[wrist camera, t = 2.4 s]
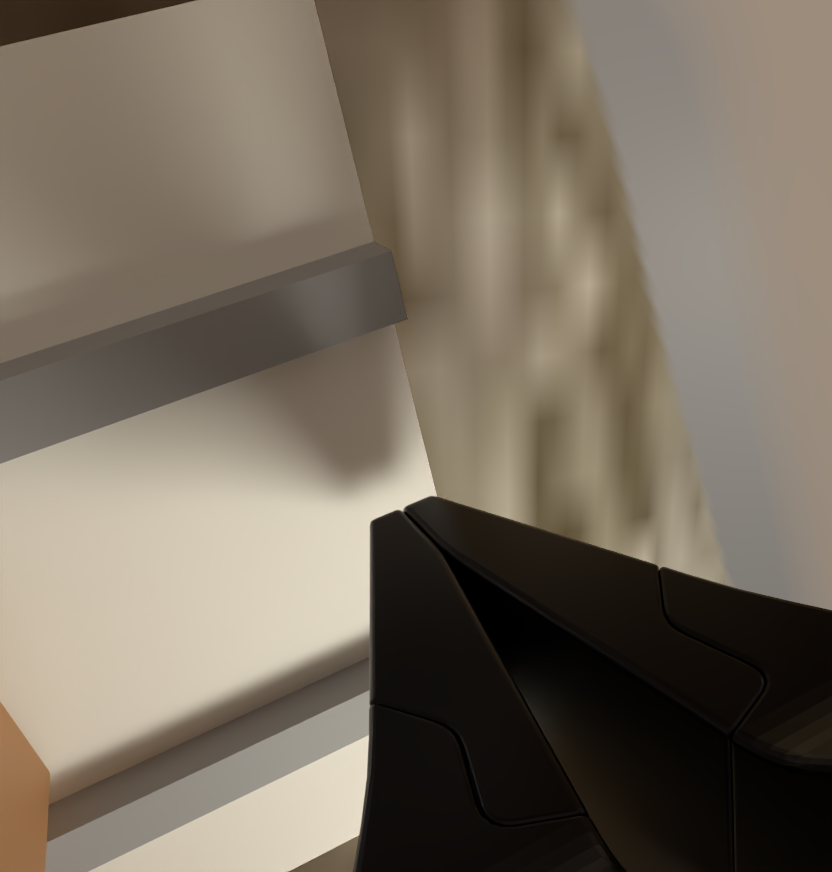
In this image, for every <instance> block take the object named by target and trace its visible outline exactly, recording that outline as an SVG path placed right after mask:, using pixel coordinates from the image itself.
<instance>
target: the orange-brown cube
mask: <svg viewBox="0 0 832 872" xmlns="http://www.w3.org/2000/svg"><path fill="white" fill-rule="evenodd" d="M49 786H50V772H49V770H48V769H47V768H46V766H45V765H44V763H43V762H42V760H41V759H40V757H39V756H38V755H37V753H36V752H35V750H34V749H33V747H32V746H31V745H30V743H29V742H28V740H27V739H26V737H25V736H24V735H23V733H22V732H21V730H20V729H19V727H18V726H17V725H16V723H15V722H14V720H13V719H12V717H11V716H10V715H9V713H8V712H7V710H6V709H5V707H4V706H3V704H2V703H1V702H0V872H45V868H46V848H47V827H48V807H49Z"/></svg>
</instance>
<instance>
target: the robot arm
mask: <svg viewBox="0 0 832 872" xmlns="http://www.w3.org/2000/svg"><path fill="white" fill-rule="evenodd" d="M369 704H370V708H369V742H368V763H367V780H366V788H365V796H364V804H363V812H362V820H361V827H360V833H359V839H358V845H357V851H356V857H355V864H354V870H353V872H832V610H828V609H823V608H819V607H814V606H810V605H805V604H800V603H796V602H791V601H787V600H783V599H779V598H775V597H771V596H766V595H762V594H758V593H754V592H750V591H746V590H741V589H737V588H734V587H730V586H727V585H723V584H720V583H716V582H713V581H709V580H706V579H702V578H699V577H695V576H692V575H689V574H685V573H682V572H679V571H676V570H672V569H669V568H666V567H662V568H660V570H659V568H658V566H657V565H656V564H652V563H649V562H646V561H643V560H639V559H636V558H633V557H630V556H627V555H623V554H620V553H617V552H614V551H610V550H607V549H604V548H601V547H598V546H594V545H591V544H588V543H585V542H581V541H578V540H575V539H572V538H569V537H565V536H562V535H559V534H556V533H552V532H549V531H546V530H543V529H540V528H536V527H533V526H530V525H527V524H523V523H520V522H517V521H514V520H510V519H507V518H504V517H501V516H498V515H494V514H491V513H488V512H485V511H481V510H478V509H475V508H472V507H469V506H465V505H462V504H459V503H456V502H452V501H449V500H446V499H443V498H440V497H436V496H428V497H426V498H424V499H421V500H419V501H417V502H414V503H412V504H409V505H407V506H405V507H404V509H403V511H401V510H395V511H393V512H390V513H388V514H385V515H383V516H381V517H378V518H376V519H374V520H372V521H371V523H370V635H369Z"/></svg>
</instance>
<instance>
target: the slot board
mask: <svg viewBox="0 0 832 872" xmlns="http://www.w3.org/2000/svg"><path fill="white" fill-rule="evenodd" d="M406 319H408V318H407V314H406V310H405V306H404V301H403V297H402V293H401V289H400V285H399V280H398V276H397V272H396V268H395V264H394V259H393V255H392V251H391V250H389V249H387V248H385V247H383V246H381V245H380V244H378V243H376V242H374V240H373V236H372V232H371V228H370V224H369V220H368V216H367V212H366V208H365V204H364V200H363V196H362V192H361V188H360V183H359V179H358V175H357V171H356V167H355V163H354V159H353V155H352V151H351V147H350V143H349V139H348V135H347V131H346V127H345V123H344V119H343V115H342V111H341V107H340V103H339V99H338V94H337V90H336V86H335V82H334V78H333V74H332V70H331V66H330V62H329V58H328V54H327V50H326V46H325V42H324V38H323V34H322V30H321V26H320V22H319V18H318V14H317V10H316V5H315V1H314V0H196V1H192V2H188V3H183V4H179V5H175V6H171V7H166V8H162V9H158V10H154V11H149V12H145V13H141V14H136V15H132V16H128V17H124V18H119V19H115V20H111V21H107V22H102V23H98V24H94V25H90V26H85V27H81V28H77V29H72V30H68V31H64V32H60V33H55V34H51V35H47V36H43V37H38V38H34V39H30V40H25V41H21V42H17V43H13V44H8V45H4V46H0V702H1V703H2V704H3V706H4V707H5V709H6V710H7V712H8V713H9V715H10V716H11V717H12V719H13V720H14V722H15V723H16V725H17V726H18V727H19V729H20V730H21V732H22V733H23V735H24V736H25V737H26V739H27V740H28V742H29V743H30V745H31V746H32V747H33V749H34V750H35V752H36V753H37V755H38V756H39V757H40V759H41V760H42V762H43V763H44V765H45V766H46V768H47V769H48V770H49V772H50V786H49V807H48V827H47V848H46V868H45V872H289V871H291V870H293V869H295V868H296V867H298V866H300V865H302V864H304V863H306V862H308V861H310V860H312V859H314V858H316V857H318V856H320V855H322V854H323V853H325V852H327V851H329V850H331V849H333V848H335V847H337V846H339V845H341V844H343V843H345V842H347V841H349V840H351V839H352V838H354V837H356V836H358V835H359V833H360V827H361V820H362V812H363V804H364V796H365V788H366V780H367V763H368V742H369V708H370V704H369V635H370V523H371V521H372V520H374V519H376V518H378V517H381V516H383V515H385V514H388V513H390V512H393V511H395V510H401V511H403V509H404V507H405V506H407V505H409V504H412V503H414V502H417V501H419V500H421V499H424V498H426V497H428V496H436V497H437V495H436V491H435V487H434V483H433V479H432V475H431V471H430V467H429V463H428V459H427V455H426V451H425V446H424V442H423V438H422V434H421V430H420V426H419V422H418V418H417V414H416V410H415V406H414V402H413V398H412V394H411V390H410V386H409V382H408V378H407V374H406V370H405V366H404V362H403V357H402V353H401V349H400V345H399V341H398V337H397V333H396V329H395V325H394V324H395V323H398V322H400V321H403V320H406Z"/></svg>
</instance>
